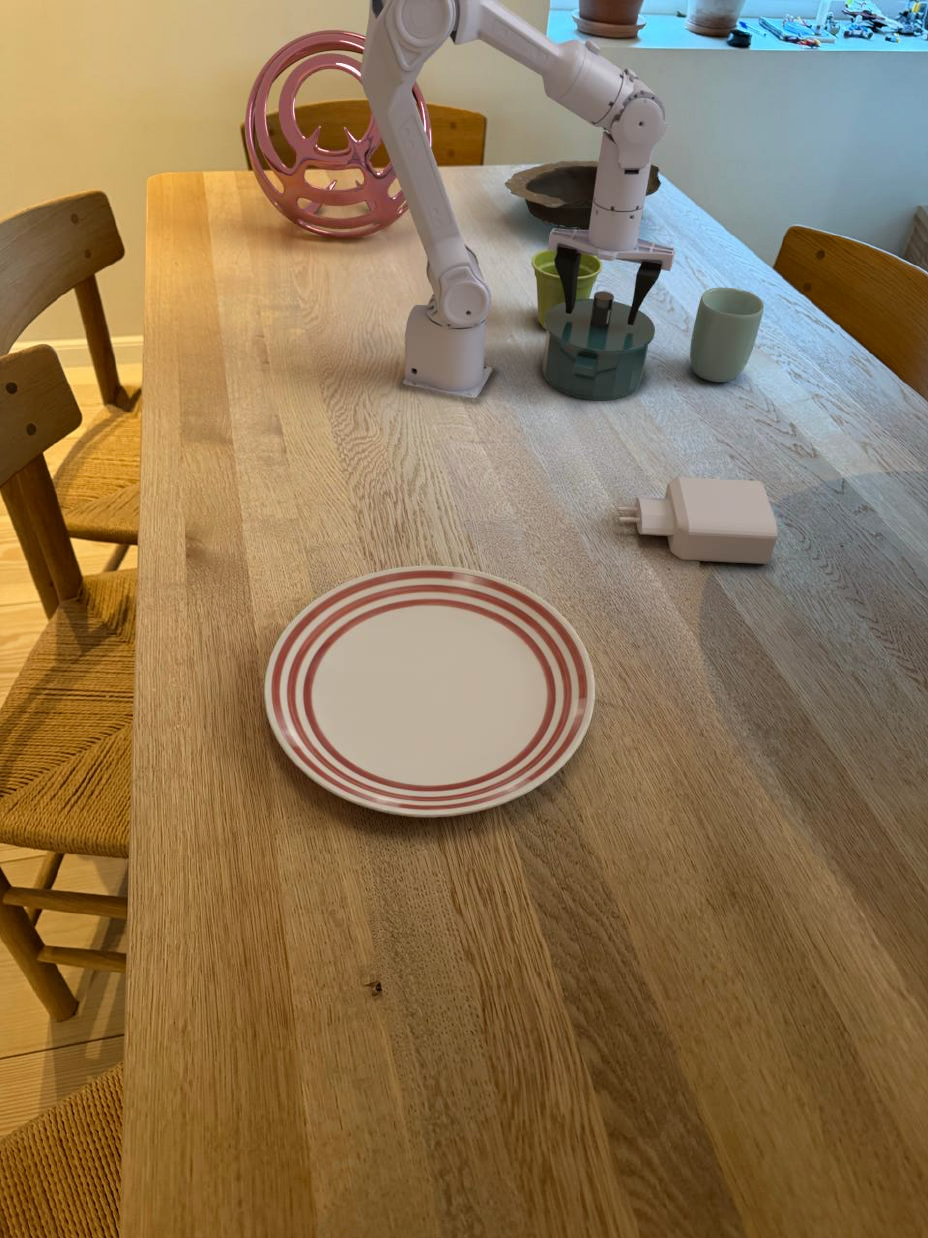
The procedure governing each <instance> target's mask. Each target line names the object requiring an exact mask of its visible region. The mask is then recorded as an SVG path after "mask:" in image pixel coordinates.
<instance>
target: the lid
mask: <svg viewBox="0 0 928 1238" xmlns="http://www.w3.org/2000/svg"><path fill="white" fill-rule="evenodd" d="M631 306H632V305H628V304H625V303H623V302H619V301H615V295H614V293H613V294H612V293H611V292H609V291H605V290H604V291H603V290H602V291H597V292H594V294H593V298H589V299H576V301H575V307H574V309H573V311H572V313H571V314H568V313H566V305H565V302H563V303H560V304H558V305H556V306H554V307H552V308H551V309H550V310H549V311H548V312H547V314H546V316H545V321H544V325H545V328H546V329H545V332H546V331H547V332H548V333H549V335H550V336H551V337H552V338H554V339H555V340H556V341H558V342H560V343H561V344H563V345H566V346H568V347H570V348H573V349H576V350H580V351H584V352H588V353H594V354H608V355H612V354H625V353H630V352H634V351H637V350H640V349H642V348H644V347H645V346H647V345H648V344H649V345H650V344H651V343H652V341H653V340H654V338H655V333H656V327H655V324H654V322H653V320H652V319H651V318H650V317H649V316H648V315H647V314H646V313H644V312H643V311H641V310H638V312H637V316H636V319H635V322H634V325H628V317H629V314H630V310H631ZM649 345H648V346H649Z"/></svg>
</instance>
